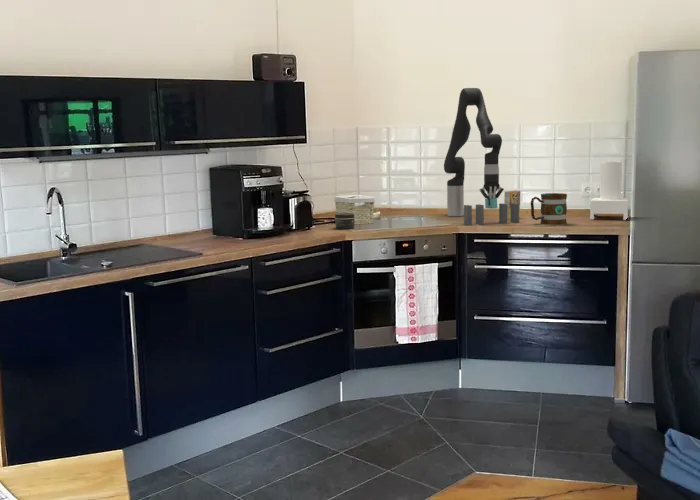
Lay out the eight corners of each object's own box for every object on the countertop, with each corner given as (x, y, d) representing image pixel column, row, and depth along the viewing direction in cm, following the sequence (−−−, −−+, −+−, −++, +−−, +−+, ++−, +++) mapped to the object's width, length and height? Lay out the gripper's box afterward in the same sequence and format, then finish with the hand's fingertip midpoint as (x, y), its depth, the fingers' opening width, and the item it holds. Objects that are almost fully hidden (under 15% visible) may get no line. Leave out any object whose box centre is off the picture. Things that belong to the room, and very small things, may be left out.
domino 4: (514, 223, 416) (514, 203, 415) (510, 222, 421) (510, 203, 420) (518, 222, 417) (519, 203, 415) (515, 221, 421) (515, 202, 420)
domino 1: (467, 225, 411) (467, 205, 409) (463, 224, 416) (463, 205, 414) (471, 225, 411) (471, 205, 410) (468, 224, 416) (468, 204, 415)
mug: (558, 221, 419) (558, 192, 417) (572, 223, 406) (572, 194, 404) (524, 223, 414) (524, 194, 412) (537, 225, 401) (537, 195, 399)
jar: (348, 230, 402) (347, 214, 401) (331, 229, 407) (331, 214, 406) (358, 228, 410) (358, 213, 409) (342, 227, 416) (341, 212, 415)
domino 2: (479, 224, 412) (479, 205, 411) (475, 223, 417) (475, 204, 415) (483, 224, 413) (483, 205, 411) (480, 223, 417) (480, 204, 416)
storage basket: (334, 221, 445) (333, 195, 443) (361, 220, 450) (361, 194, 448) (347, 226, 422) (346, 198, 420) (376, 224, 427) (375, 196, 425)
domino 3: (502, 223, 415) (503, 204, 413) (499, 222, 420) (499, 203, 418) (507, 223, 415) (507, 204, 414) (503, 222, 420) (503, 203, 419)
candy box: (514, 218, 441) (514, 190, 439) (520, 218, 438) (520, 190, 435) (503, 219, 435) (503, 191, 433) (510, 219, 432) (510, 191, 430)
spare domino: (492, 198, 410) (485, 198, 419) (493, 208, 410) (485, 208, 420) (496, 198, 410) (489, 198, 420) (497, 208, 411) (489, 207, 420)
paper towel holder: (590, 219, 426) (591, 162, 421) (593, 215, 443) (594, 161, 439) (627, 219, 419) (628, 162, 414) (629, 216, 436) (630, 161, 432)
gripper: (500, 172, 417) (500, 205, 420) (476, 173, 415) (476, 206, 417) (506, 173, 410) (506, 206, 413) (482, 173, 407) (482, 207, 410)
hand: (491, 206), depth 415 cm, fingers closed, pressing on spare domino
